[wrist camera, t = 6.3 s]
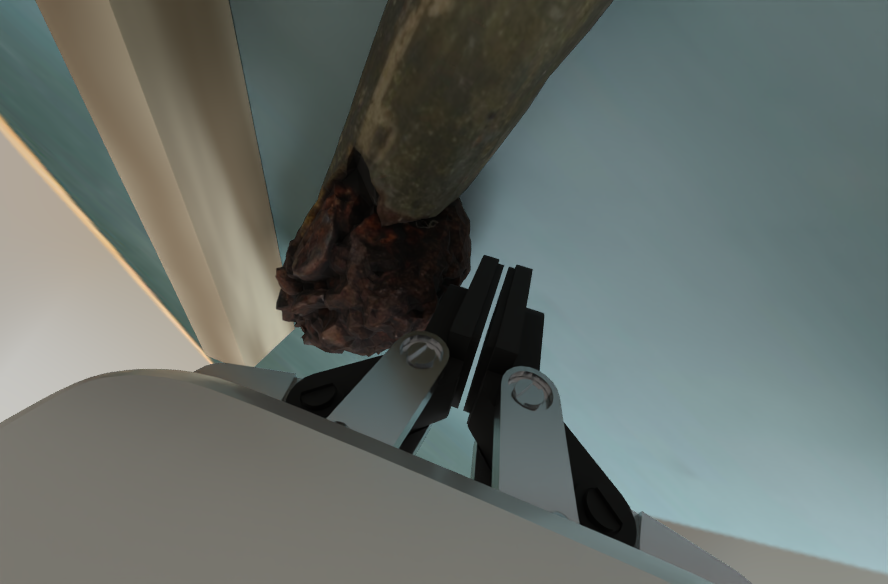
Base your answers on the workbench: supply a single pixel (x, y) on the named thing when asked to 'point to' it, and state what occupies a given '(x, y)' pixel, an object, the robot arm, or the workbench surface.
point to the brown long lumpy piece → (417, 163)
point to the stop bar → (184, 155)
